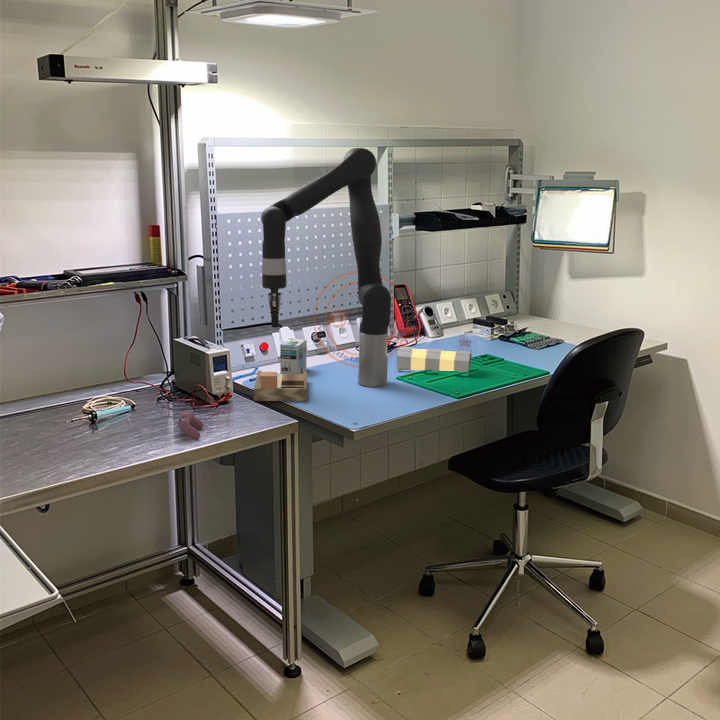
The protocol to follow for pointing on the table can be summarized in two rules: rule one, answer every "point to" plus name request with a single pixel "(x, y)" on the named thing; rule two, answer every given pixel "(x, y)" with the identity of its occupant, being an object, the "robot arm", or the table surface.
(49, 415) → the table surface
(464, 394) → the table surface
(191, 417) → the video game controller
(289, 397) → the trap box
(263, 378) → the block
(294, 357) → the light bulb box
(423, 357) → the gray yellow striped block
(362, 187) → the robot arm
